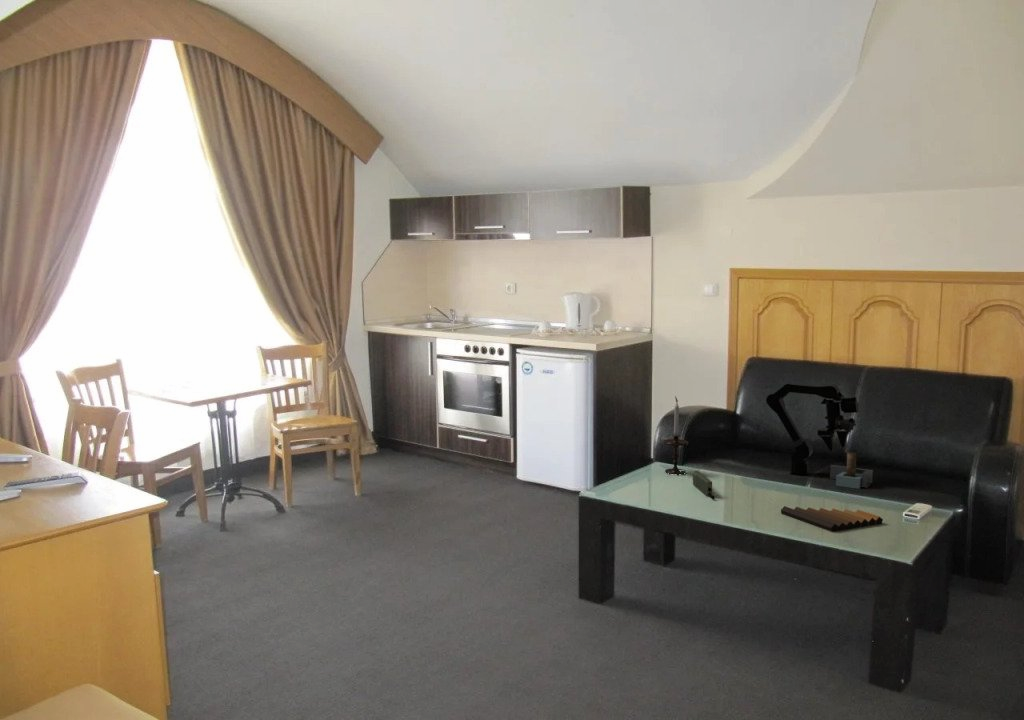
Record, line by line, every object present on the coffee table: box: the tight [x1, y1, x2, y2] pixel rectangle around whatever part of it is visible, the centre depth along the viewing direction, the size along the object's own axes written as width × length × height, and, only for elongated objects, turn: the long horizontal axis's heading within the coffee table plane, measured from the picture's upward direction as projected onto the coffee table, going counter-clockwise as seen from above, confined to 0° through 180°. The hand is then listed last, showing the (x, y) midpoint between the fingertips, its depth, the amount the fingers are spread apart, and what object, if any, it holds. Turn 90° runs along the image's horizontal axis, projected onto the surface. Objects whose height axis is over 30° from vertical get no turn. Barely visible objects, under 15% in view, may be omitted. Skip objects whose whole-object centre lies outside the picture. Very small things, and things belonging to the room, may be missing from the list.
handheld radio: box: [692, 470, 716, 500], centre depth 356 cm, size 7×3×25 cm
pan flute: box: [780, 505, 884, 533], centre depth 319 cm, size 25×3×25 cm
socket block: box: [835, 472, 862, 489], centre depth 370 cm, size 10×10×4 cm
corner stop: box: [829, 464, 874, 487], centre depth 372 cm, size 17×10×6 cm, turn 55°
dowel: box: [846, 452, 857, 477], centre depth 369 cm, size 4×4×13 cm
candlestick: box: [663, 395, 689, 475], centre depth 389 cm, size 11×11×35 cm
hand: (837, 448), depth 380 cm, fingers open, 9 cm apart
